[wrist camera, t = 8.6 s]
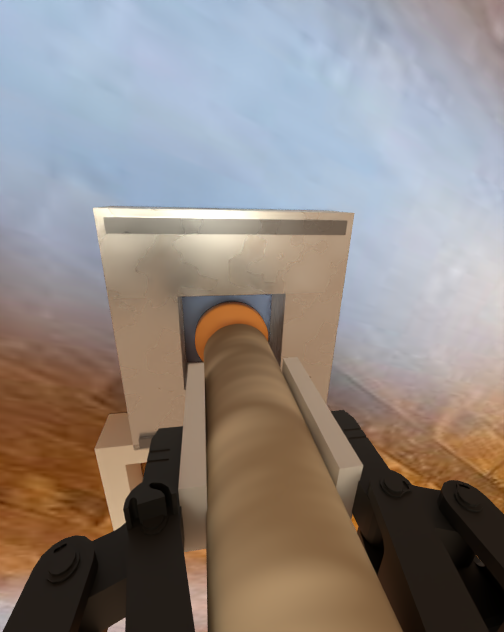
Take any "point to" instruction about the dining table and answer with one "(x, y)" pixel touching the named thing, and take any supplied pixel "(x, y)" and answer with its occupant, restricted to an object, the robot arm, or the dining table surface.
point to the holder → (118, 464)
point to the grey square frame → (216, 291)
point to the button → (226, 321)
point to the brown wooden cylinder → (276, 508)
